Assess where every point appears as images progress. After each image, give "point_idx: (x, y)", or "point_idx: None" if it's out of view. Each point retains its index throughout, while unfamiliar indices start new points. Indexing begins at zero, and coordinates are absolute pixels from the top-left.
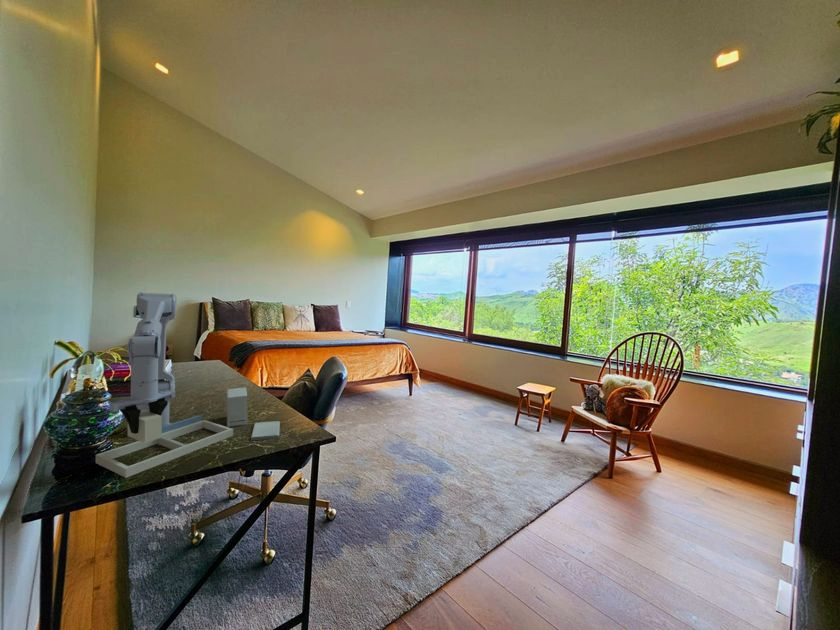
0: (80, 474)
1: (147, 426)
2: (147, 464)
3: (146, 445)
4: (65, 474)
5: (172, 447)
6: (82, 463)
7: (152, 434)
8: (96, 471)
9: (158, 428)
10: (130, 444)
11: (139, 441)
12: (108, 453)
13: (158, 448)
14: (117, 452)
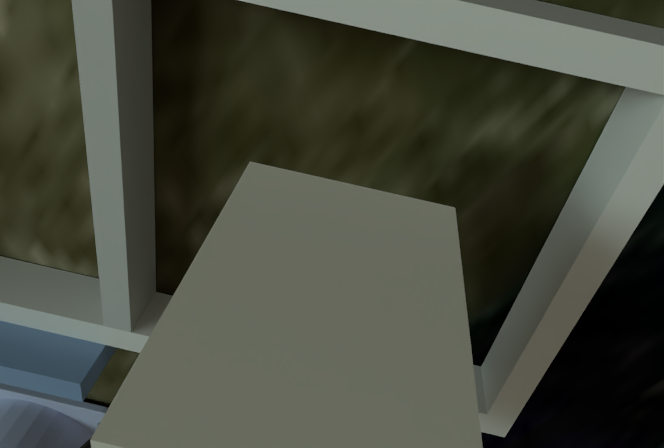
0: (650, 353)
1: (428, 378)
2: (519, 5)
3: None
4: (655, 411)
5: (144, 128)
6: (515, 432)
7: (353, 238)
8: (600, 309)
9: (252, 260)
10: None
11: None
12: None
13: (195, 231)
14: None
